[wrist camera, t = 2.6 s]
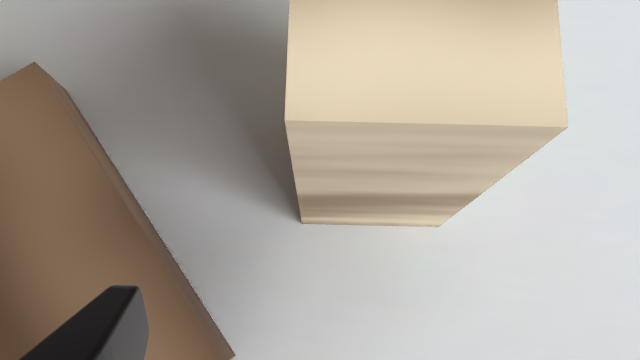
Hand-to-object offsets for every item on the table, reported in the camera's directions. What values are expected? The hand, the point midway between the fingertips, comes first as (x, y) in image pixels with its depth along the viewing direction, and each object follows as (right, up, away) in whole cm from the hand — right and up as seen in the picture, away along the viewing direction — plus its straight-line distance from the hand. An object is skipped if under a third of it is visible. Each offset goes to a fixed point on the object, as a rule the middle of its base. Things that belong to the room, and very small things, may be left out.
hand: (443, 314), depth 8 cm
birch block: (0, +3, +13) cm, 13 cm away
